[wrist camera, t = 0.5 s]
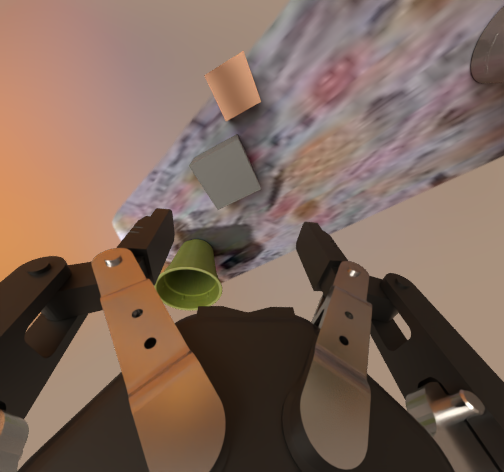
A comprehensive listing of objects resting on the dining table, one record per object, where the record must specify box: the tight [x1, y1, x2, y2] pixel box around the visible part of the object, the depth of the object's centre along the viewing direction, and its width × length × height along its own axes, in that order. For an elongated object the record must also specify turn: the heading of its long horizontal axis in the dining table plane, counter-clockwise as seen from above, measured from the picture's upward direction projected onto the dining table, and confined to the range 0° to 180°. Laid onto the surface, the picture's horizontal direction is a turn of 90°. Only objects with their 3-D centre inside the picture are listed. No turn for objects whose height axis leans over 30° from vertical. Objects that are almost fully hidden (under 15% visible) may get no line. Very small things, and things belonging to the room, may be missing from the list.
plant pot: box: [153, 239, 222, 310], centre depth 38 cm, size 12×12×11 cm
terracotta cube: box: [205, 51, 261, 121], centre depth 24 cm, size 5×5×5 cm
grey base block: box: [189, 134, 261, 210], centre depth 30 cm, size 8×8×5 cm
